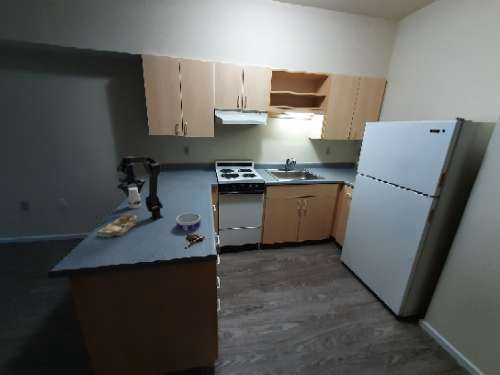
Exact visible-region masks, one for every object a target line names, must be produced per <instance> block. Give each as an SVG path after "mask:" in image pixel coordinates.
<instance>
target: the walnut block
mask: <svg viewBox="0 0 500 375" xmlns="http://www.w3.org/2000/svg"><path fill="white" fill-rule="evenodd" d="M119 218H120V222H121V223H122V224H127V223H128V222H130V219H131V218H133V216H132V214H129V213H128V214H127V213H125V214H124V215H122V216H120V217H119Z"/></svg>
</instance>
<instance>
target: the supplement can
mask: <svg viewBox="0 0 500 375" xmlns="http://www.w3.org/2000/svg"><path fill="white" fill-rule="evenodd" d="M128 188H129V197H127V199H128V205H129V208H130V209H139V208H141V206H142V202H141V192H140V193H138V188H137V186H136V187H128Z"/></svg>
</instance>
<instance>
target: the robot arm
mask: <svg viewBox="0 0 500 375" xmlns="http://www.w3.org/2000/svg"><path fill="white" fill-rule="evenodd" d="M147 162H148V163H147ZM137 163H139V164H140V163H141V164H142V165H143V168H144V169H145V170H146V173H147V174H148V176H149V179H148V180H149V181H148V186H149V187H148V196H145V202H144V203H145V207H146V208H147V211H148V212H149V213H151V216H150V217H149V218H150V219H152V220H154V221H156V220H159V219H162V218H164V216H163V215H162V213H161V209H163V207H164V204H162V202H161V201H160V198H159V196H158V178H159V175H160V173H161V170H162V167H161V164H160V163H159V162H158V161H157V160H156V159H154V158H152V157H150V156H149V155H142V156H131V155H130V156H129V155H128V156H123V157H121V160H120V163H118V165H117V167H116V172H117V173H118V174H125V175H124V178H123V177H120V178H118V182H119V183H120V184H117V186H116V189H118V190H121V191H123V193H124V194H125V196H126V197H127V198H128V197H129V188H130V187H131V186H134V185H136V188H138V193H140V194H141V191H142V188H143V186H144V185H145V184H146V180H145V179H143V178H138V179H136V178H137V175H136V172H135V169H136V166H135V164H137Z"/></svg>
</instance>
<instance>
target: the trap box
mask: <svg viewBox="0 0 500 375" xmlns="http://www.w3.org/2000/svg"><path fill="white" fill-rule="evenodd" d="M136 225H138V217H137V215H134V216H132V218H131V219H130V222H128V223H127V224H122V223H121V222H120V217H119V218H118V219H116V220H115V221H113V222H111V223H109V224H108V225H106V226H105V227H103V228H101V229H100V230H98V231H97V235H98V237H103V238H113V237H121V236H123V235H125V233H127V232H128V231H130V230H131V229H132V228H133V227H135V226H136Z"/></svg>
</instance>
